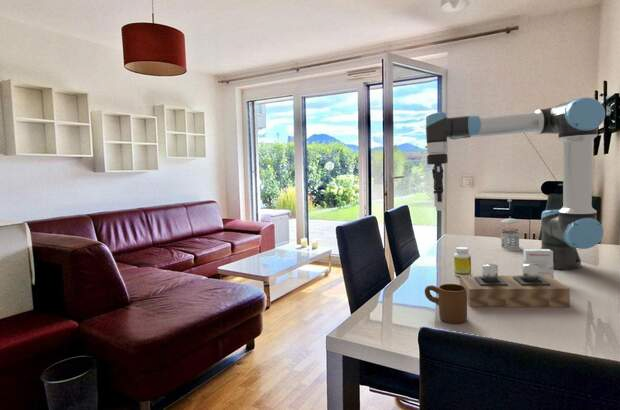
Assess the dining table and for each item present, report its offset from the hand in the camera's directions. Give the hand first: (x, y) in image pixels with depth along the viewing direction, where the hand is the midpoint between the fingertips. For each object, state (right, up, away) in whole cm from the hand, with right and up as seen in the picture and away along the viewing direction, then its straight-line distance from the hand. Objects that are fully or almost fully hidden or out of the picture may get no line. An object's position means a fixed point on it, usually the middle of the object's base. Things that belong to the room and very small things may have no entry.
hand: (438, 208), depth 145 cm
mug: (-11, -32, -37) cm, 50 cm away
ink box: (+32, -27, -11) cm, 43 cm away
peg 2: (+20, -24, -27) cm, 41 cm away
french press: (+49, -21, +41) cm, 67 cm away
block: (+14, -29, -25) cm, 41 cm away
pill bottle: (+10, -27, +3) cm, 29 cm away
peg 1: (+8, -24, -25) cm, 36 cm away
